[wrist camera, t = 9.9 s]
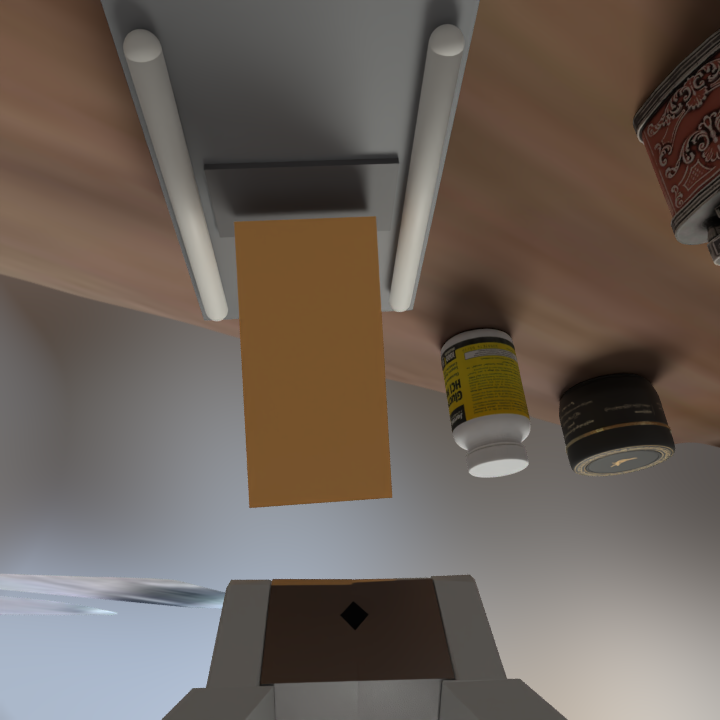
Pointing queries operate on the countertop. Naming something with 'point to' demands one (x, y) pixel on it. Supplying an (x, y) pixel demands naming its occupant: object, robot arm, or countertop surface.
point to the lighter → (688, 144)
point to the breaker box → (295, 120)
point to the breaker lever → (312, 361)
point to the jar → (614, 426)
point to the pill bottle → (486, 401)
